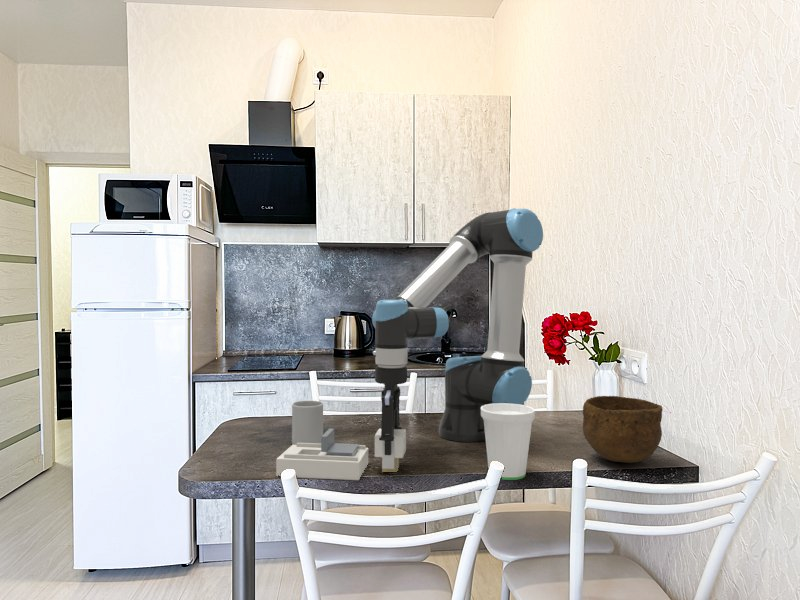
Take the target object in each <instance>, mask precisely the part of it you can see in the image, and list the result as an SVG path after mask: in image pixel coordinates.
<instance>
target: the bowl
mask: <svg viewBox="0 0 800 600" xmlns="http://www.w3.org/2000/svg"><path fill="white" fill-rule="evenodd" d="M663 411H664V409H663V406H662V405H660V404H658V403H654V402H651V401H650V400H649V401H648V400H645V399H641V398H636V397H624V396H618V395H597V396H593V397H590V398H587V399H586V401H584V403H583V406H582V415H583V421H582V432H583V435H584V438H585V439H586V441H587V443H588V445H590V447H591V449H593V450H594V452H595V453H596V454H597V455H599V456H600V457H601V458H604V460H605V459H606V460H607V461H611V462H618V463H623V464H634V463H639V462H642V461H645V460H646V459H647V460H648V458H649V457H651V456H652V455H653V454H654V452H656V450H657V448H658V447H659V446H660V442H661V441H662V438H663V437H662V435H663V432H662V426H661V425H662V423H661V422H662V418H663Z"/></svg>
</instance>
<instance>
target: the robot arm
mask: <svg viewBox="0 0 800 600" xmlns="http://www.w3.org/2000/svg"><path fill="white" fill-rule="evenodd" d="M543 229H544V228H543V225H542V222H541V220H540V219H539V217H538V216H537V215H536V213H535V212H534V211H532V210H531V209H528V208H511V209H507V210H505V209H504V210H500V211H498V210H497V211H489V212H485V213H482V214H479V215H478V216H475V217H474V218H472V219H471V220H469V222H467V223H466V224H465V225H463V226H462V227H461V228H460V229H459V230H458V231H457V232H455V234H454V235H453V236H452V237H450V239H449V242H448V245H447V247H446V248H445V249H444V250H443V251H442V252H441V253H440V254H438V256H437V257H435V259H434V260H432V261H431V263H430V264H429V265H428V266H427V267H425V269H424V270H422V272H420V274H418V276H417V277H415V279H414V280H413V281H411V282H410V283H409V284H408V285H407V287H405V288H404V289H403V290H402V291H401V292H400V293H399V294H398V296H397V297H396V298H395V299H380V300H378V301H377V302H376V305H375V310H373V311H374V312H373V313H372V318H371V323H372V326H373V327H374V329H375V332H374V333H375V334H374V335H375V336H374V337H375V342H374V343H375V350H374V351H372V354H373V356H375V357H374V358H375V365H377V366H375V368H374V381H375V382H376V383H377V384H381V385H382V384H383V385H384V387H383V389H382V390H381V397H380V399H381V400H380V401H381V427H380V429H381V438H379V440H382V457H381V469H382V468H384V469H394V459H395V458H394V456H395V440H394V429H402V426H400V425H401V423H400V402H401V400H400V397H401V387H400V386H399V385H403V384H405V383H407V381H408V367H407V366H406V365H407V364H408V343H409V342H408V340H412V339H414V340H415V339H417V340H418V339H436V338H441V337H443V336H444V335H446V333H448V331H449V327H450V322H449V321H450V319H449V315H448V314H447V311H445V310H444V309H443V308H442V307H435V306H430V307H429V305H430V304H431V303H432V302H433V300H435V298H437V297H438V295H440V293H441V292H443V290H444V289H445V288H446V287H447V286H448V285H449V284H450V283H452V281H453V280H454V279H455V278H456V277H457V276H458V275H459V274H460V273H461V272H462V270H463V269H465V267H466V266H467V265H468V264H473V263H476V261H477V260H478V259H479V258H481V257H483V256H485V255H488V254H489V255H488V256H489V260H491V262H492V263H493V273H492V274H493V275H492V285H491V286H492V287H491V302H490V310H489V324H488V337H487V350H486V351H485V352H484V353H483V354H481V355H473V356H471V355H470V356H458V357H457V356H456V357H450V358H448V359H447V360H446V361H445V362H446V363H445V370H444V398H445V399H444V400H445V401H444V403H445V404H444V411H443V414H442V417H441V420H440V422H439V426H438V435H439V437H441V438H443V439H444V440H445V439H446V440H449V441H455V442H468V443H473V442H481V441H486V439H485V428H484V420H483V418H482V417H481V406H484V405H487V404H496V403H509V404H520V405H524V403H525V402H527V400H528V398H529V397H530V394H531V392H532V387H533V377H532V375H531V373H530V371H529V369H527V368H525V359H524V358H523V356H522V355H521V354H520V346H521V345H520V344H521V333H522V322H523V321H522V319H523V306H524V296H525V294H524V293H525V284H526V283H525V281H526V280H525V278H526V268H527V265H528V264H530V262H531V261H533V253H534V252H535V251H537V250H538V249H539V248H540V246H541V245H542V243H543V240H544V230H543ZM388 434H389V435H388Z"/></svg>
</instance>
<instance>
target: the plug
mask: <svg viewBox="0 0 800 600" xmlns="http://www.w3.org/2000/svg"><path fill="white" fill-rule="evenodd" d="M388 435H389V434H388ZM379 438H381V428H378V430H377V431H376V433H375V435H374V457H375V458H382V440H379ZM394 440H395V456H394V458H395V459H394V469H384V468H382V467H381V473H383V472H397V471H399V469H398V468H400V459H403V458H404V456H405V453H406V450H407V429H406V428H405V429H394ZM397 473H398V472H397Z"/></svg>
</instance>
